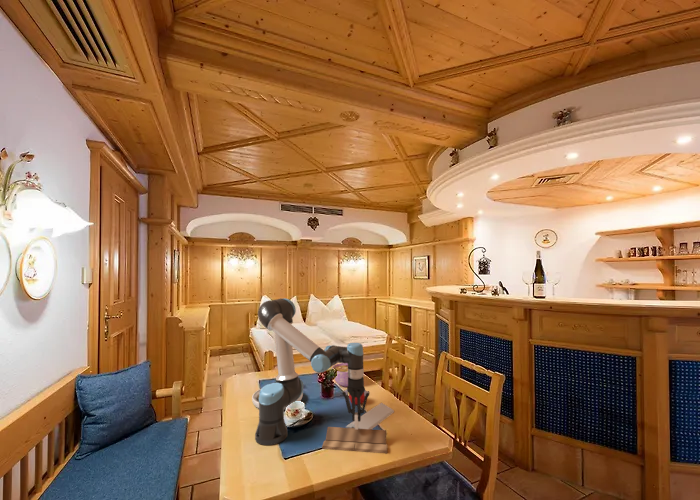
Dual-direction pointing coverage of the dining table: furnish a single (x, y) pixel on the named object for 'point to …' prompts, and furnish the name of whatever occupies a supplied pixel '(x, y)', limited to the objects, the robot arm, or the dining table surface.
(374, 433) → the plank
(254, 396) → the bowl
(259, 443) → the robot arm
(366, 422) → the crown molding
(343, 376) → the bowl of food
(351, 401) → the pomegranate
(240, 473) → the dining table surface
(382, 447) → the laid row
